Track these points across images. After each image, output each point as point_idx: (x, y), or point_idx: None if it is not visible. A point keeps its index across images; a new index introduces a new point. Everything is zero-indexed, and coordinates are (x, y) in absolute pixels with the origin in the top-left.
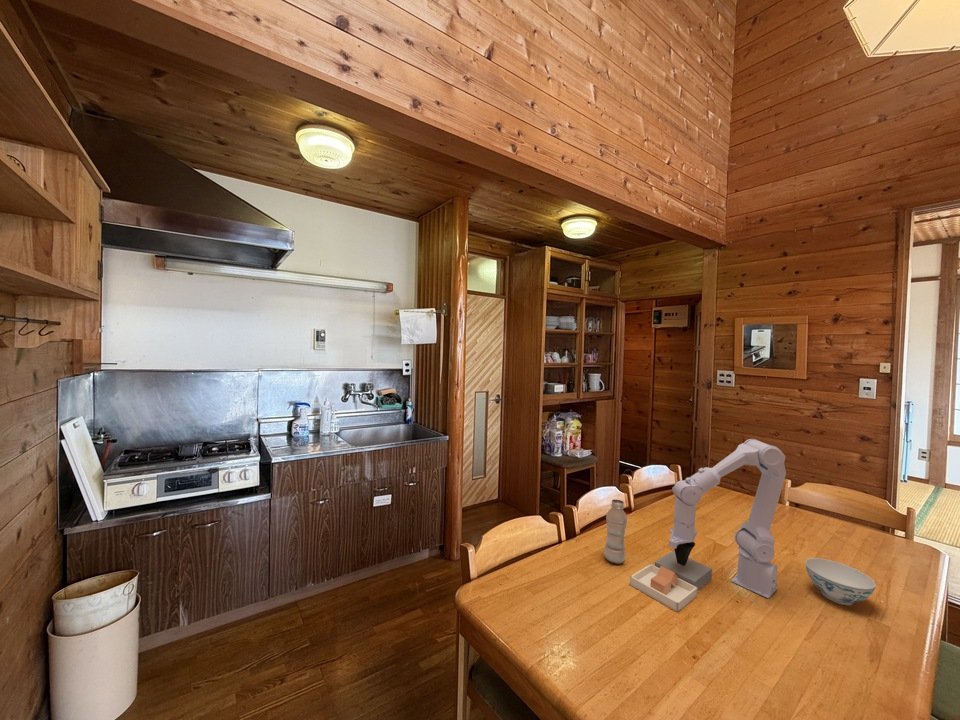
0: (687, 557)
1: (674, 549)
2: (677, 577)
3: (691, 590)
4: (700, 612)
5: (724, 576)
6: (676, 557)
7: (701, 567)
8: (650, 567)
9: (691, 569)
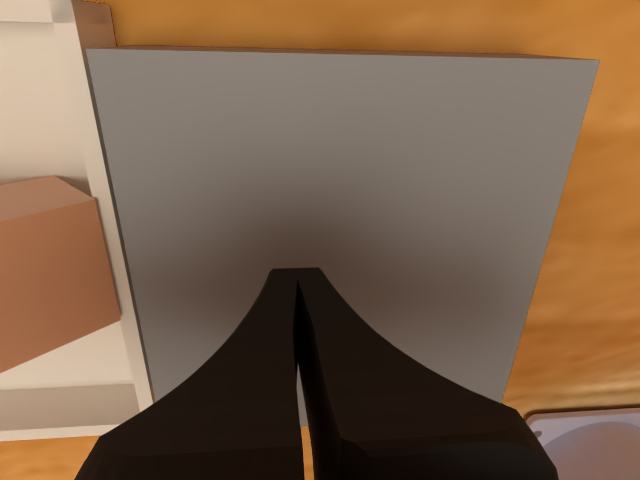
0: (308, 423)
1: (205, 366)
2: (91, 328)
3: (73, 427)
4: (33, 448)
5: (570, 371)
6: (259, 297)
7: (449, 370)
8: (39, 22)
9: None
